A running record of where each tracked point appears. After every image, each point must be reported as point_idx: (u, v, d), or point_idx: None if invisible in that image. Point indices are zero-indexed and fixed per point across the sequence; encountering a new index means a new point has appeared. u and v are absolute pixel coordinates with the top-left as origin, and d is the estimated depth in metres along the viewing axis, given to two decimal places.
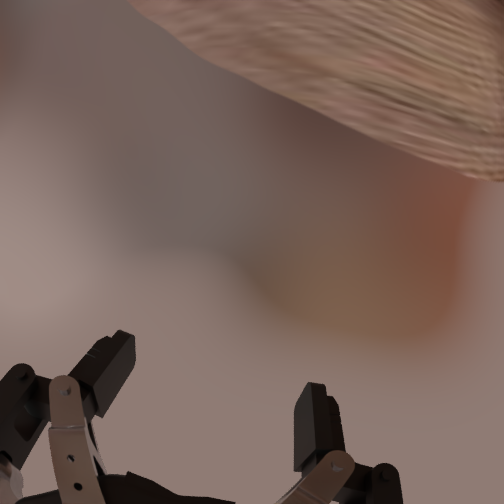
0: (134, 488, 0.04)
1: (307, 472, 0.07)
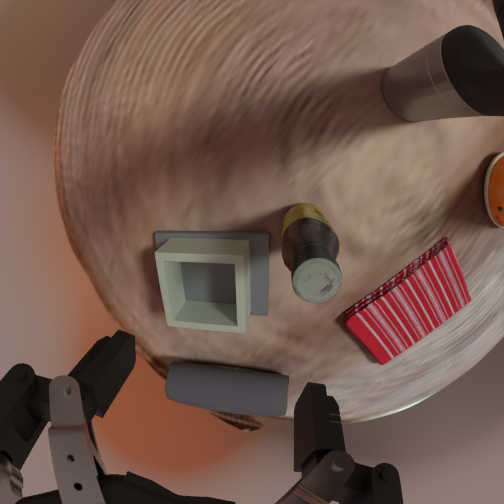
0: (134, 488, 0.04)
1: (307, 472, 0.07)
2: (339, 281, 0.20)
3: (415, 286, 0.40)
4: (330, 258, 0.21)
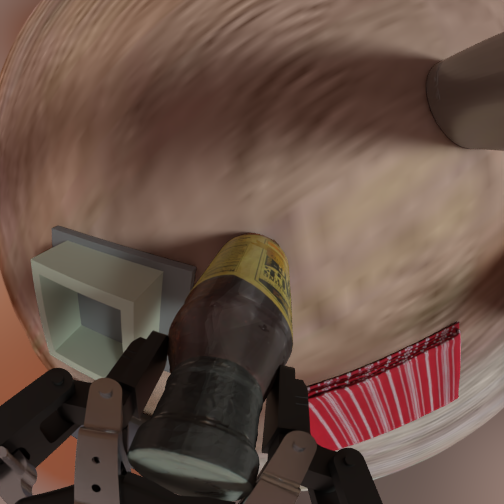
0: (134, 488, 0.04)
1: (272, 452, 0.08)
2: (246, 494, 0.06)
3: (397, 378, 0.27)
4: (232, 452, 0.06)
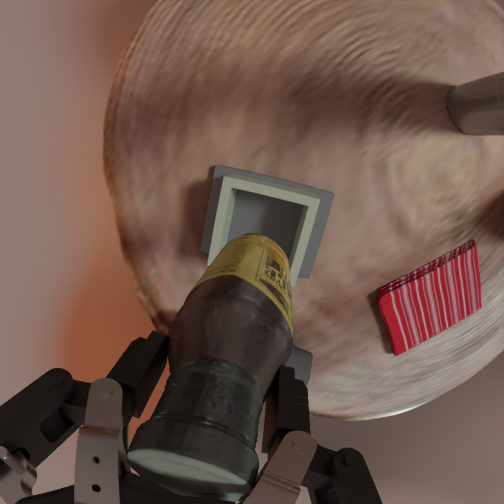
0: (134, 488, 0.04)
1: (271, 452, 0.08)
2: (245, 495, 0.05)
3: (442, 278, 0.41)
4: (232, 453, 0.06)
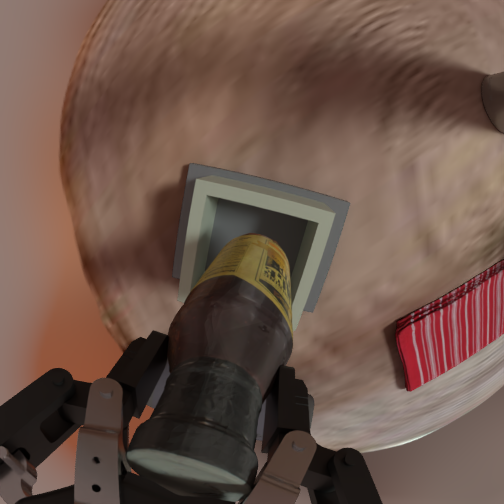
0: (134, 488, 0.04)
1: (271, 452, 0.08)
2: (244, 495, 0.05)
3: (469, 305, 0.31)
4: (230, 453, 0.06)
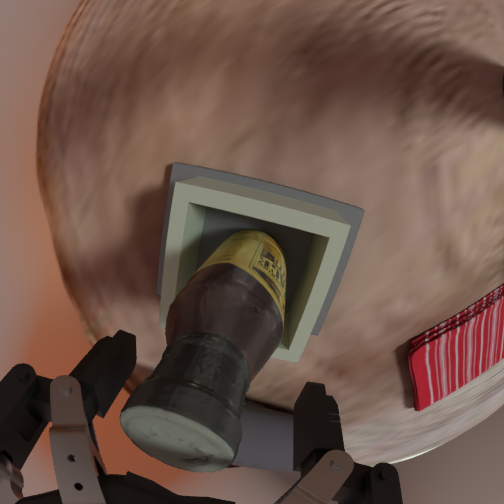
0: (134, 488, 0.04)
1: (306, 471, 0.07)
2: (227, 461, 0.07)
3: (486, 320, 0.26)
4: (214, 413, 0.07)
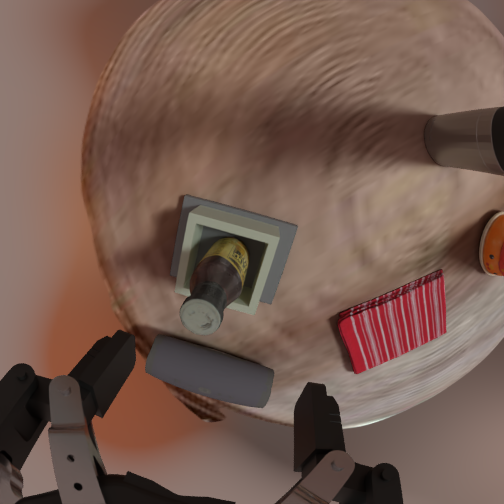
0: (134, 488, 0.04)
1: (307, 472, 0.07)
2: (218, 323, 0.24)
3: (405, 305, 0.45)
4: (214, 301, 0.24)
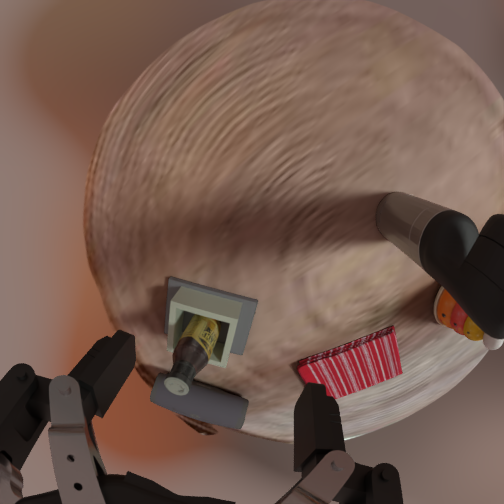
0: (134, 488, 0.04)
1: (307, 472, 0.07)
2: (187, 390, 0.35)
3: (358, 354, 0.54)
4: (184, 378, 0.35)
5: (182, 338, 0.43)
